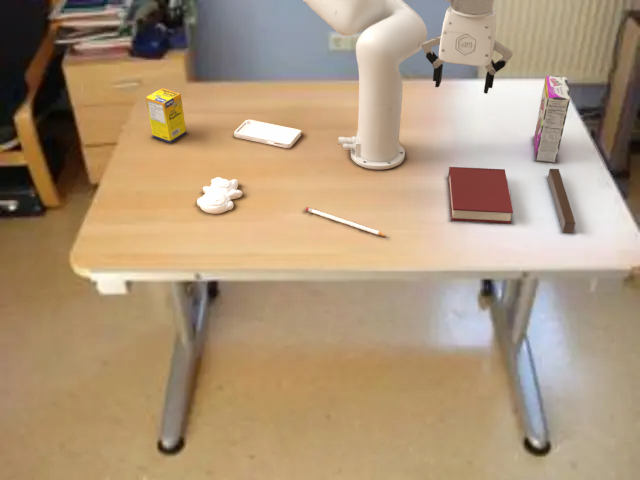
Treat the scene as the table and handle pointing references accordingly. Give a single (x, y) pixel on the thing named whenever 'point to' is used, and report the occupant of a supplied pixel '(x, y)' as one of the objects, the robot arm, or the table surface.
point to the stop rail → (561, 201)
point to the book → (479, 195)
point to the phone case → (268, 133)
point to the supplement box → (166, 115)
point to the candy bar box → (551, 118)
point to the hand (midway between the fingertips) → (462, 87)
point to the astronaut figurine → (219, 196)
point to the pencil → (344, 221)
